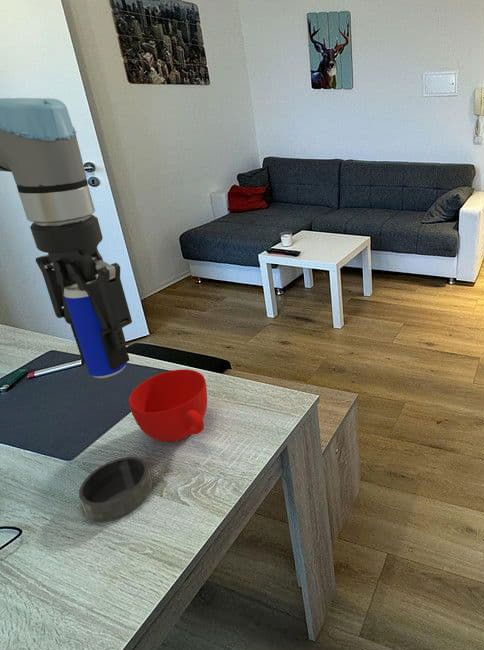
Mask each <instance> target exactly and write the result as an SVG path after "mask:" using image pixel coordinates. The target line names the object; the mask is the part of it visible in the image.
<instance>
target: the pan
mask: <svg viewBox="0 0 484 650" xmlns="http://www.w3.org/2000/svg"><path fill="white" fill-rule="evenodd" d="M152 489H153V480H152V476H151V473H150V468H149V465H148V463H147V462H146V461H145V460H144V459H143V458H141V457H138V456H125V457H119V458H116V459H114V460H110V461H108V462H106V463H104V464H103V465H101V466H98V467H97V468H96V469H95V470H94V471H92V472H91V473H90V474H88V476H87V477H86V478H85V479H84V480H83V482H82V483H81V485H80V487H79V490H78V498H79V500H80V503H81V506H82V508H83V512H84V513H85V516H86V517H87V518H88V519H89V520H92V521H94V522H99V523H105V522H106V523H107V522H111V521H112V522H113V521H115V520H118V519H120V518H122V517H125V516H127V515H129V514H130V513H132V512H133V511H135V510H136V509H138V508H139V507H140V506H141V505H143V503H145V501H146V500H147V498H148V497H149V495H150V493H151V491H152Z"/></svg>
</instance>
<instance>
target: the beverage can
mask: <svg viewBox="0 0 484 650" xmlns="http://www.w3.org/2000/svg"><path fill="white" fill-rule="evenodd" d="M95 280H97V278H96V279H95ZM95 280H93V281H95ZM93 281H90V282H88V283H91V282H93ZM88 283H87V284H88ZM64 298H65V301H66V304H67V307H68V310H69V313H70V316H71V320H72V323H73V326H74V329H75V332H76V335H77V338H78V341H79V345H80V348H81V351H82V354H83V357H84V360H85V362H84V363H85V366H86V370H87V372H88V374H89V376H92V377H93V378H95V379H96V378H97V379H106V378H110V377H113V376H115V375H118V374H119V373H121V372H122V371H123V370H124V369H125V367H126V366H127V364H128V362H126V363H125V364H123V365H121V366H120V367H118V368H116V369H115V370H112V369H110V366H109V362H108V359H107V355H106V352H105V349H104V345H103V342H102V339H101V335H100V333H99V331H101V330H103V328H102V326H101V324H100V322H99V320H98V318H97V316H96V314H95V312H94V309H93V307H92V305H91V302H90V299H89V296H88V294H87V292H86V291H81V290H80V289H79V288H78V286H77V283H76V284H74V285H71V286H67V287H65V288H64Z"/></svg>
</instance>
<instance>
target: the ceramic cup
mask: <svg viewBox="0 0 484 650" xmlns="http://www.w3.org/2000/svg"><path fill="white" fill-rule="evenodd" d="M128 405H129V409H130V412H131V414H132V417H133V418H134V420H135V423H136V424H137V426H138V427H139V429H140V430H141V431H142V432H143V434H145V435H146V436H148V437H150V439H153V440H156V441H158V442H163V443H174V442H178V441H182V440H184V439H186V438H188V437H189V436H190V435H198V434H201V432H202V431H203V430H204V428H205V423H204V418H205V415H206V411H207V407H208V390H207V381H206V379H205V376H204V375H203V374H202V373H201V372H199V371H196V370H192V369H187V368H185V369H173V370H167V371H164V372H161V373H158V374H156V375H154V376H150V377H149V378H147V379H146V380H144V381H143V382H141V383H140V384H138V385H137V386H136V387H135V388H134V389H133V391H132V392H130V395H129V398H128Z"/></svg>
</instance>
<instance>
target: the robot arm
mask: <svg viewBox="0 0 484 650" xmlns="http://www.w3.org/2000/svg"><path fill="white" fill-rule="evenodd" d="M69 113H70V112H69V111H68V107H67V105H66V104H65V103H64V102H63V101H61V100H60V99H58V98H52V97H51V98H50V97H46V98H45V97H44V98H43V97H42V98H38V97H2V98H1V97H0V172H8V173H11V174H12V177H13V180H14V183H15V185H16V188H17V193H18V196H19V198H20V202H21V205H22V207H23V211H24V214H25V217H26V220H27V221H29V222H31V225H30V226H29V228H30V231H31V235H32V237H33V240H34V243H35V245H36V246H35V247H36V248H37V250H38V251H40V252H42V253H46V254H45V255H42V256H38V257H35V263H36V264H37V266H38V268H39V270H40V271H41V274H42V277H43V279H44V283H45V286H46V289H47V293H48V295H49V299H50V301H51V305H52V308H53V312H54V315H55V317H56V318H58V319H62V318H64V321H65V322H66V323H67V324H69V326H70V328H71V331H72V334H73V338H74V340H75V343H76V346H77V349H78V352H79V355H80V359H81V360H82V361H81V362H82V363H85V360H84V357H83V354H82V351H81V348H80V345H79V341H78V338H77V335H76V332H75V329H74V326H73V323H72V320H71V316H70V313H69V310H68V307H67V304H66V301H65V298H64V288H65V287H67V286H71V285H74V284H76V283H77V286H78V288H79V289H80V290H81V291H86V292H87V294H88V296H89V299H90V302H91V305H92V307H93V309H94V312H95V314H96V316H97V318H98V320H99V322H100V324H101V326H102V328H103V330H101V331H99V333H100V335H101V339H102V342H103V345H104V349H105V352H106V355H107V359H108V362H109V366H110V369H112V370H115V369H116V368H118V367H120V366H121V365H123V364H125V363H126V362H127V363H128V362H129V361H130V356H129V353H128V349H127V342H126V338H125V334H124V330H123V328H124V327H127V326H128V325H131V324H132V323H133V320H132V316H131V312H130V308H129V304H128V300H127V298H126V297H127V296H126V294H125V290H124V287H123V283H122V280H121V266H120V264H119V263H117V262H113V263H111V264H110V263H108V262H106V261H104V259H103V256H102V255H101V253H100V251H99V249H98V246H99V244H100V243H102V241H103V234H102V229H101V226H100V223H99V222H100V221H99V218H98V217H97V216H95V215H94V214H95V212H96V209H95V204H94V202H93V201H94V200H93V198H92V194H91V190H90V188H89V183H88V178H87V174H86V169H85V166H84V165H85V164H84V161H83V158H82V154H81V149H80V146H79V141H78V138H77V137H78V136H77V131H76V128H75V127H74V125H73V122H72V120H71V117H70V114H69ZM96 278H97V280H95V279H96ZM93 280H95V281H93ZM90 281H93V282H91V283H88V282H90ZM87 283H88V284H87Z"/></svg>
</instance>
